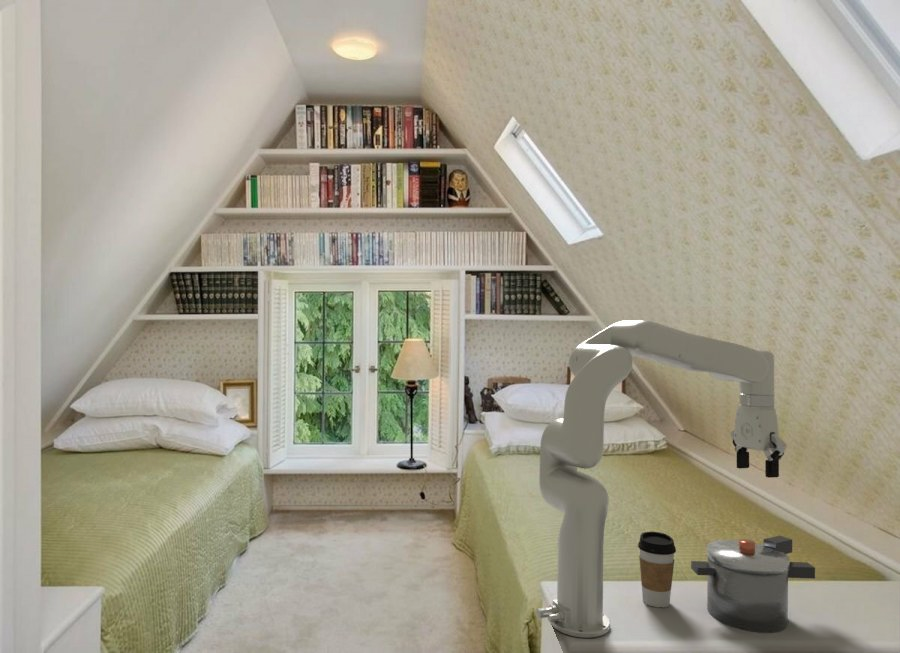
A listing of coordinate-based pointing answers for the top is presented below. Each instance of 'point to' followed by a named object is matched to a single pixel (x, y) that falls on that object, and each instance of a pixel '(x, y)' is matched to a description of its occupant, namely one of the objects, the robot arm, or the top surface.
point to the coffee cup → (656, 567)
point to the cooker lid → (752, 555)
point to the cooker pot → (750, 595)
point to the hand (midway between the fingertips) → (757, 472)
